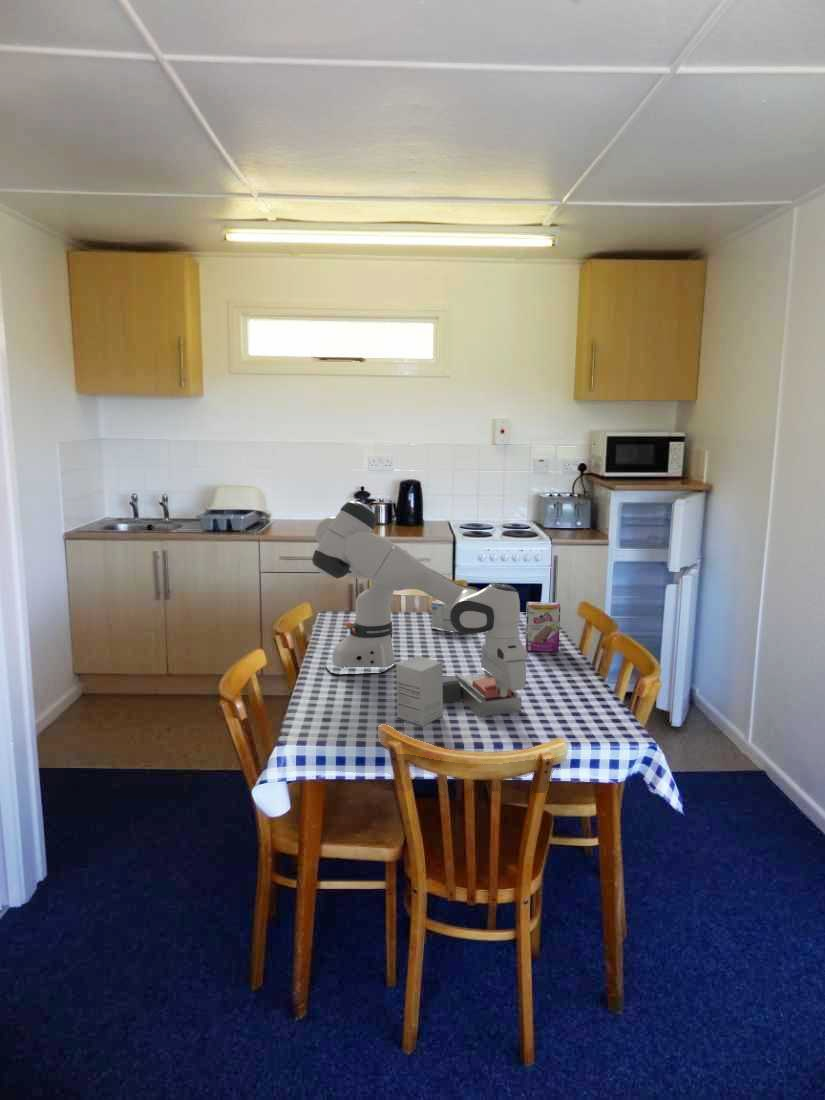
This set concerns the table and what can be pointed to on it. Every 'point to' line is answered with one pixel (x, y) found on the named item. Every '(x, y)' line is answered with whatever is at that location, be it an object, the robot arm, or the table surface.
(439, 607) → the light bulb box
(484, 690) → the red stepped block
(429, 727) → the table surface
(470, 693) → the socket
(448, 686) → the plug
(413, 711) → the supplement box
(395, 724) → the table surface
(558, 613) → the candy bar box
